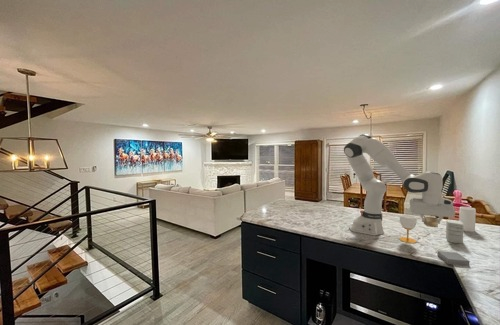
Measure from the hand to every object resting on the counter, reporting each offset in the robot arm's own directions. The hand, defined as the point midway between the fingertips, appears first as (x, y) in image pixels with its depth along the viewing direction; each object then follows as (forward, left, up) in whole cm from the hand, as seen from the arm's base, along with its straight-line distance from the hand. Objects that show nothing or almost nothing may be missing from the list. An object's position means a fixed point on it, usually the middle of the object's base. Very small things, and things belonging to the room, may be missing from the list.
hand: (430, 222), depth 122 cm
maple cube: (0, 0, -2) cm, 2 cm away
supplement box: (+19, +22, -17) cm, 34 cm away
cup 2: (+36, +49, -17) cm, 63 cm away
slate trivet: (+7, -9, -17) cm, 21 cm away
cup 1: (-8, +12, -17) cm, 22 cm away
